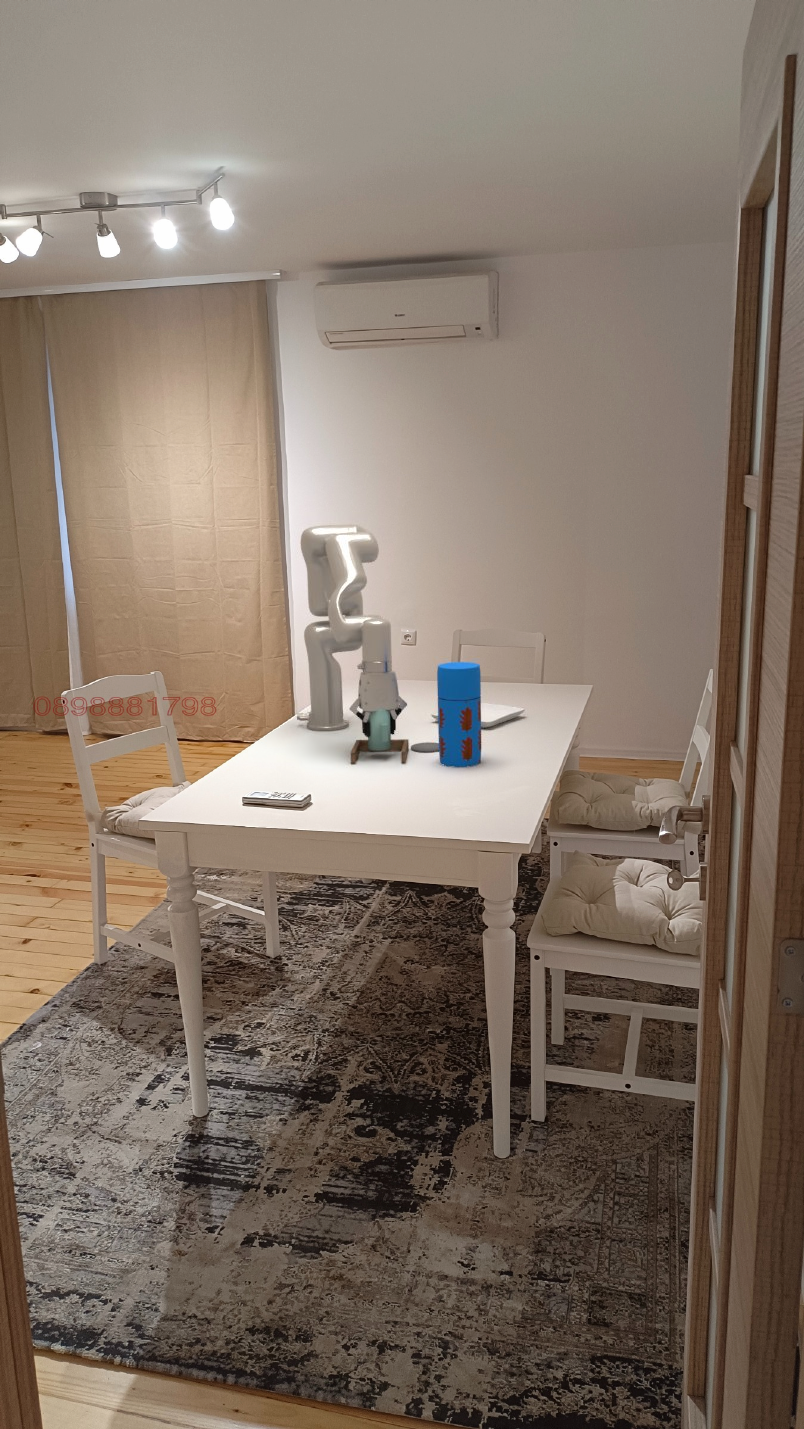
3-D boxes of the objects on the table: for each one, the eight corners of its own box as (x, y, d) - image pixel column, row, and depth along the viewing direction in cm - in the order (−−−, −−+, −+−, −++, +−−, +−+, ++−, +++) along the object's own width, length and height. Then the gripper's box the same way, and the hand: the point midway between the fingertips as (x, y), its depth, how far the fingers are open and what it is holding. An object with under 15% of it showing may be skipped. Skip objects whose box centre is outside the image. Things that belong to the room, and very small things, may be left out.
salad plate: (489, 732, 297) (489, 720, 296) (429, 724, 310) (429, 713, 309) (526, 718, 313) (526, 707, 313) (468, 711, 326) (468, 700, 325)
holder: (351, 764, 265) (350, 752, 264) (356, 750, 278) (356, 739, 278) (405, 763, 264) (405, 752, 263) (408, 750, 278) (408, 739, 277)
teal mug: (365, 746, 273) (364, 705, 270) (387, 743, 275) (385, 703, 272) (374, 753, 265) (373, 711, 263) (396, 750, 267) (395, 709, 265)
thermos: (486, 757, 267) (485, 662, 262) (475, 768, 257) (474, 669, 252) (446, 755, 271) (444, 661, 265) (433, 766, 261) (431, 668, 255)
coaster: (409, 752, 275) (409, 750, 274) (411, 744, 283) (411, 742, 283) (443, 752, 274) (443, 750, 274) (444, 744, 283) (444, 742, 283)
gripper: (349, 672, 260) (351, 741, 264) (413, 666, 265) (415, 734, 269) (341, 667, 267) (343, 734, 271) (404, 662, 272) (405, 728, 276)
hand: (379, 734), depth 270 cm, fingers closed on teal mug, 6 cm apart
